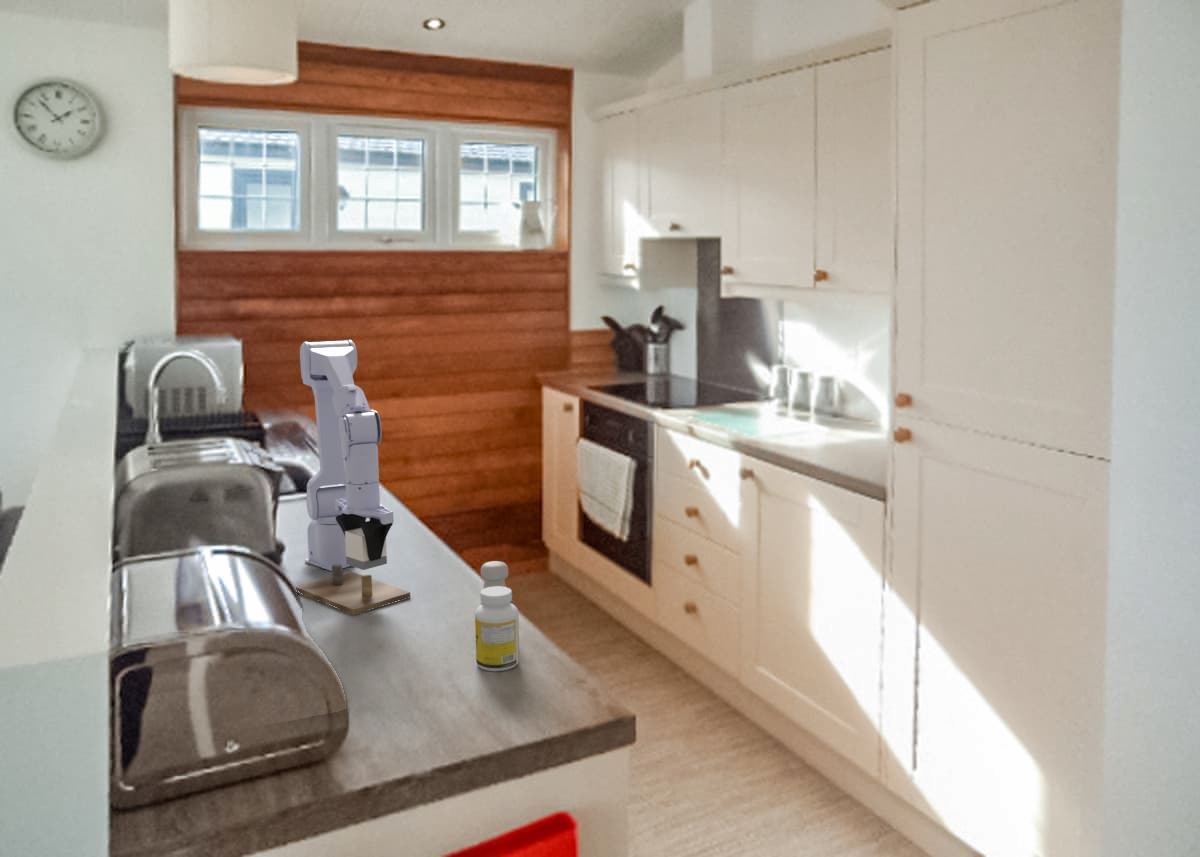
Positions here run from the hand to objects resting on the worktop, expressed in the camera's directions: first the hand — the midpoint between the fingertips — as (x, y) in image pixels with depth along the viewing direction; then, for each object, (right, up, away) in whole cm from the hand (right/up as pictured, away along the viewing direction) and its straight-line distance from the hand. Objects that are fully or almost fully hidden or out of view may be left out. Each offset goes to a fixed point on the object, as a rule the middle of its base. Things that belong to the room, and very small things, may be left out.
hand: (365, 556), depth 189 cm
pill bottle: (+26, -13, -27) cm, 40 cm away
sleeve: (0, -1, 0) cm, 1 cm away
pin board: (-3, -7, +4) cm, 9 cm away
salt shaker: (+25, -12, -18) cm, 33 cm away
